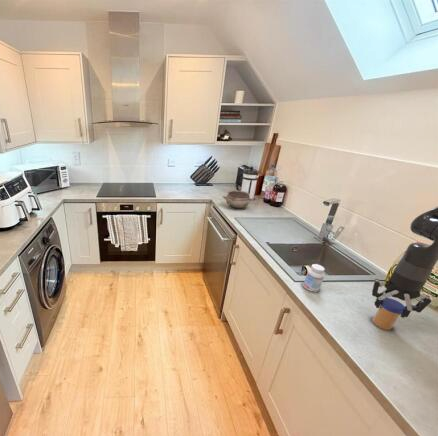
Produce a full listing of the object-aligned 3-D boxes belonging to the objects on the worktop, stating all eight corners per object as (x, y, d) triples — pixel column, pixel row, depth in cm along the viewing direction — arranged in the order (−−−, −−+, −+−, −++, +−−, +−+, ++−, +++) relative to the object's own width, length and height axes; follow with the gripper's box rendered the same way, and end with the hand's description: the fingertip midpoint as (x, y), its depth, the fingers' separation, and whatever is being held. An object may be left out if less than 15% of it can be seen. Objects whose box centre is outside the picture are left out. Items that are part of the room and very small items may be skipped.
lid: (384, 299, 87) (386, 295, 87) (406, 310, 83) (408, 306, 82) (377, 304, 85) (378, 301, 84) (398, 316, 80) (401, 312, 79)
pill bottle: (300, 282, 109) (307, 262, 104) (315, 284, 108) (322, 263, 103) (306, 291, 104) (313, 270, 99) (321, 293, 102) (329, 272, 98)
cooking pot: (250, 204, 204) (253, 191, 199) (254, 212, 188) (257, 198, 183) (220, 202, 210) (222, 189, 205) (221, 209, 193) (223, 195, 188)
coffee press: (253, 196, 224) (259, 165, 212) (255, 202, 210) (262, 168, 198) (234, 195, 228) (239, 164, 216) (235, 200, 214) (240, 167, 202)
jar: (383, 319, 89) (394, 300, 85) (395, 330, 85) (407, 311, 81) (368, 317, 90) (379, 299, 86) (379, 329, 85) (390, 309, 81)
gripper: (441, 277, 76) (416, 316, 83) (381, 260, 85) (363, 296, 91) (446, 289, 71) (419, 329, 78) (381, 269, 79) (362, 306, 86)
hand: (389, 311), depth 84 cm, fingers closed on lid, 6 cm apart
